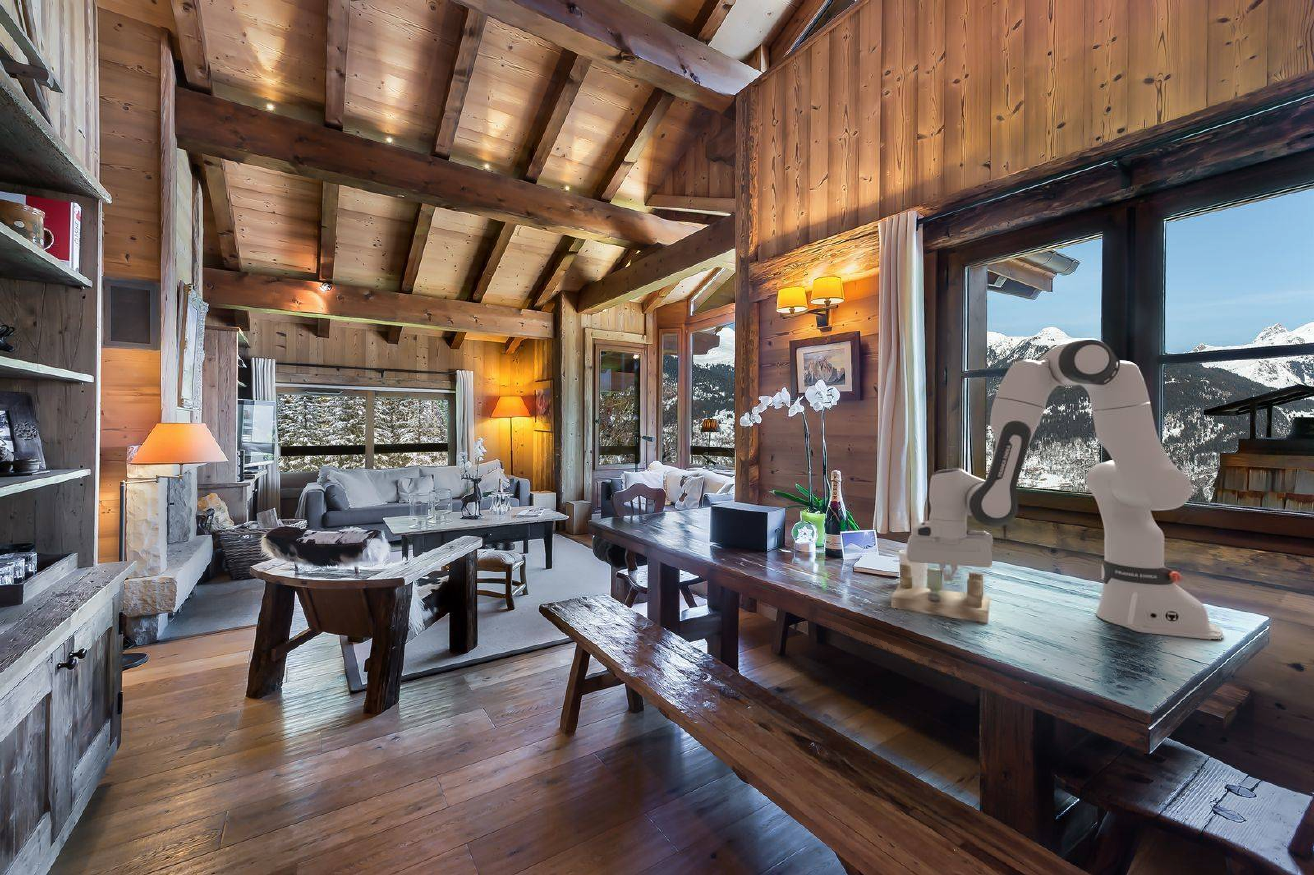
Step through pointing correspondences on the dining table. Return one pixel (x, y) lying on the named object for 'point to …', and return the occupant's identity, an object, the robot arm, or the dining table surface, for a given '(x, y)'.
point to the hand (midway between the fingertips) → (947, 580)
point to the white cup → (915, 570)
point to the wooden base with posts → (942, 598)
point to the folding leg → (934, 583)
